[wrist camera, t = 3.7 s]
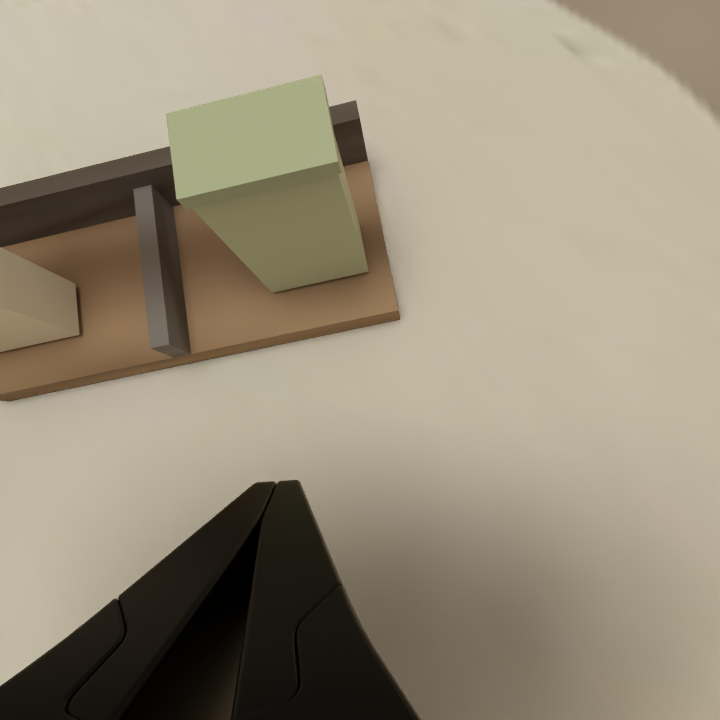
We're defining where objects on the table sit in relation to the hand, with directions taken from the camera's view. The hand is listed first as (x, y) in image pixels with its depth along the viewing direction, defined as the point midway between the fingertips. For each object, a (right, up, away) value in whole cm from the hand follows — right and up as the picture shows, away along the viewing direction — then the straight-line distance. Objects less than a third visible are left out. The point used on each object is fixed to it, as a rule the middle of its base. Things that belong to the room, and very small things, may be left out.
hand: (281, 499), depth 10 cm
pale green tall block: (0, +7, +13) cm, 14 cm away
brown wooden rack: (-7, +7, +15) cm, 18 cm away
